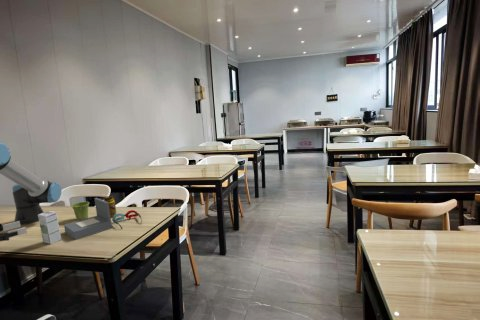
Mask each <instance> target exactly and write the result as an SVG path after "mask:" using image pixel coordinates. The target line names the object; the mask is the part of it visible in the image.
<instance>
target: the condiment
mask: <svg viewBox="0 0 480 320" xmlns="http://www.w3.org/2000/svg"><path fill="white" fill-rule="evenodd" d="M103 200H104V201H106V202H108V203H109V210H110V217H111V219H112V218H113V216H114V215H115V214H117V208H116V202H115V198H114V196H113V195H108V196H106V195H105V196H104V197H103ZM116 218H119V216H117V217H116Z"/></svg>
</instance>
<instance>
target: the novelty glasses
mask: <svg viewBox="0 0 480 320" xmlns="http://www.w3.org/2000/svg"><path fill="white" fill-rule="evenodd" d="M117 216H118V217H117ZM119 216H120V217H119ZM136 217H139V218H140V224H143V223H142V221H143V219H142V215H141V214H140V213H138V212H137V211H136V210H135V209H131V210H128V211H127V212H126V213H125V214H123V213H120V212H119V213H117V212H116V214H115V215H114V216H113V218H111V222H113V223H115V224H116V225H118V226H119V227H120V228H121V230H123V227H122V226H121V224H120V223H119V221H122V220H124V219H126V218H127V219H128V220H130V219H131V218H136Z"/></svg>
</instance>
